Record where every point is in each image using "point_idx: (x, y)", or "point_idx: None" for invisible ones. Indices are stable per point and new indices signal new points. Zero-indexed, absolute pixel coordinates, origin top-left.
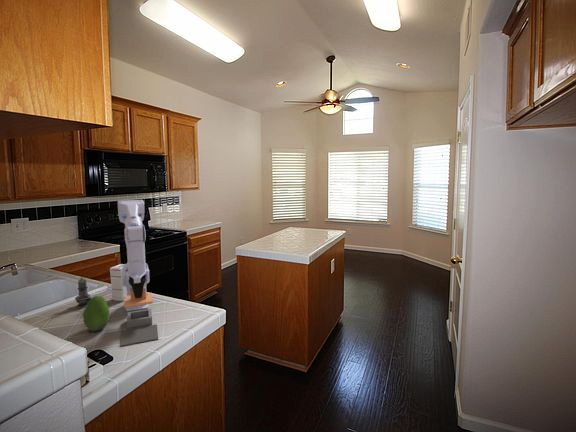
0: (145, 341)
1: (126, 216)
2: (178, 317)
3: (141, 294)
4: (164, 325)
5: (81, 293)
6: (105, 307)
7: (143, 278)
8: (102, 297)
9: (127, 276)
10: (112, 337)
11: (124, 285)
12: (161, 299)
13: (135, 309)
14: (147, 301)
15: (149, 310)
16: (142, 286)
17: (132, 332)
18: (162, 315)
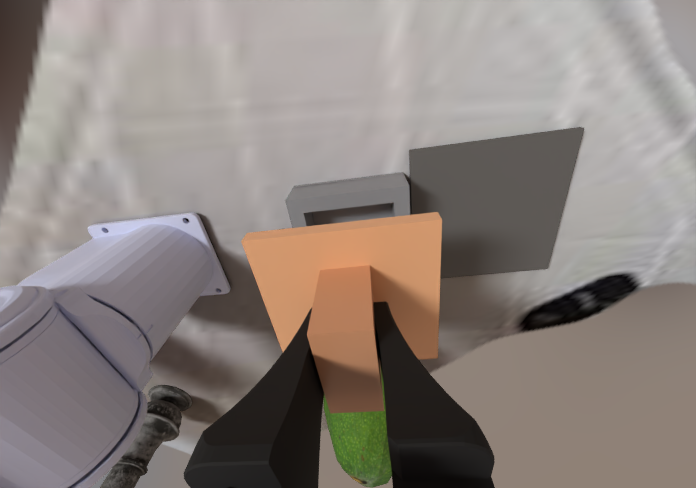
0: (567, 184)
1: None
2: (343, 18)
3: (393, 319)
4: (428, 107)
5: (154, 449)
6: (383, 401)
7: (288, 429)
8: (364, 457)
9: (91, 456)
10: (451, 298)
11: (146, 399)
12: (65, 155)
13: (217, 262)
14: (428, 252)
15: (309, 207)
16: (430, 379)
17: (454, 244)
18: (293, 130)
